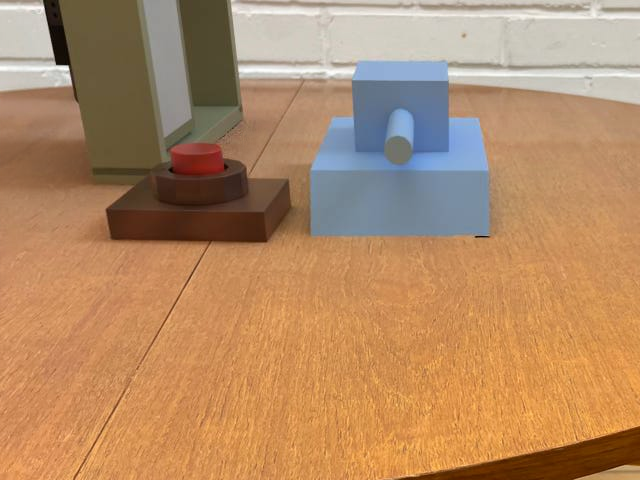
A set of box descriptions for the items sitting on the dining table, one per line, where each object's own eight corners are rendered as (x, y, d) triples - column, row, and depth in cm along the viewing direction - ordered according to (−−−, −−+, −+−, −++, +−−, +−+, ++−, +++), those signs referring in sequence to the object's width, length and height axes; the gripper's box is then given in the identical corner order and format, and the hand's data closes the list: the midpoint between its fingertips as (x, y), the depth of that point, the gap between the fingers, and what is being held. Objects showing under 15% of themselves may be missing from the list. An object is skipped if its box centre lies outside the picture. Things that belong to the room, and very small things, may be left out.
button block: (111, 240, 68) (99, 182, 66) (151, 204, 75) (142, 151, 73) (267, 243, 68) (261, 185, 65) (291, 207, 75) (286, 154, 73)
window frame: (94, 184, 80) (45, -64, 71) (188, 117, 104) (161, -75, 95) (165, 186, 80) (127, -63, 71) (243, 118, 104) (222, -74, 95)
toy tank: (493, 105, 64) (299, 103, 64) (491, 242, 69) (310, 242, 69) (479, 53, 83) (328, 52, 82) (477, 164, 88) (335, 163, 87)
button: (166, 179, 68) (163, 153, 67) (181, 166, 71) (177, 142, 70) (217, 180, 68) (214, 154, 67) (230, 167, 71) (227, 142, 70)
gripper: (23, -275, 69) (89, 76, 82) (96, -250, 82) (143, 52, 94) (-81, -276, 69) (0, 75, 82) (7, -251, 82) (67, 51, 94)
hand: (77, 62), depth 88 cm, fingers closed on sash, 2 cm apart
